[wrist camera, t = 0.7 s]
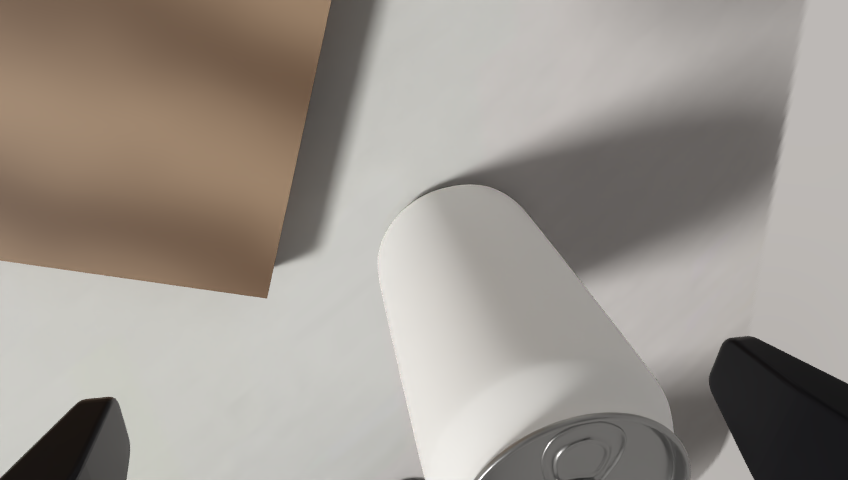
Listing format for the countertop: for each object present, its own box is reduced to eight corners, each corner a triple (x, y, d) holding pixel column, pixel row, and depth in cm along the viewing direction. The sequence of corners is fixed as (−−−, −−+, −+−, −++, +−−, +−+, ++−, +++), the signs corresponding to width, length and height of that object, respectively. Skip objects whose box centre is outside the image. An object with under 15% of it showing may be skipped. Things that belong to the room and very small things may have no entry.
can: (544, 178, 23) (746, 389, 13) (521, 316, 26) (669, 579, 16) (377, 179, 22) (450, 414, 12) (373, 325, 25) (428, 616, 15)
